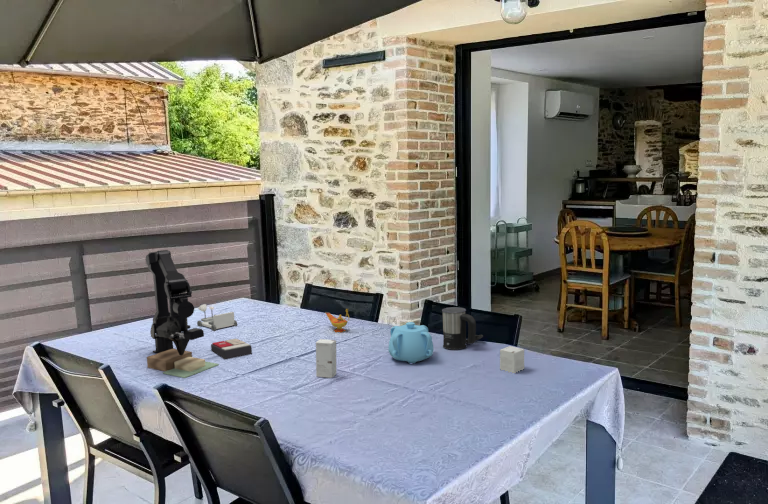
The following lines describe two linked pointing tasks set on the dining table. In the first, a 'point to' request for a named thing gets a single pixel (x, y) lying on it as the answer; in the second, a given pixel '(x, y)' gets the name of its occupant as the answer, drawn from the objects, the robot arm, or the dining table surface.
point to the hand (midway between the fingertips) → (181, 354)
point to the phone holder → (216, 319)
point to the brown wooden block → (166, 359)
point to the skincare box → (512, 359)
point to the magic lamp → (338, 321)
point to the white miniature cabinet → (326, 358)
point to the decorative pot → (410, 343)
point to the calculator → (231, 348)
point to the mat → (189, 373)
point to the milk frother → (458, 328)
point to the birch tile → (189, 364)
